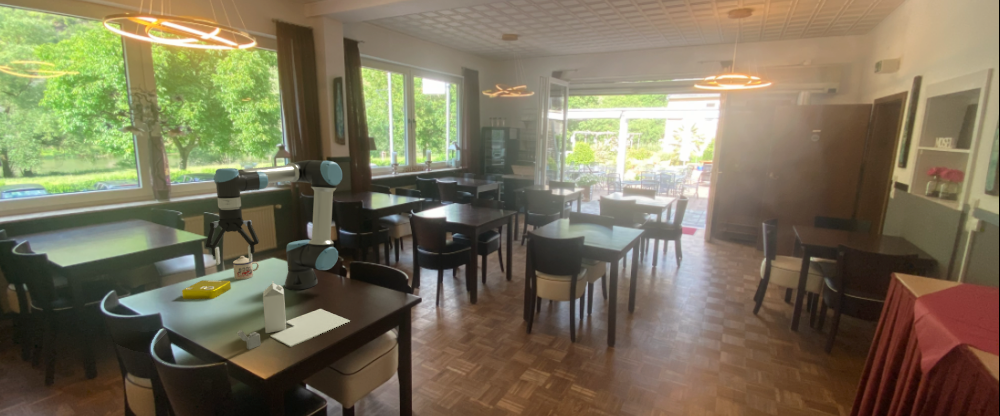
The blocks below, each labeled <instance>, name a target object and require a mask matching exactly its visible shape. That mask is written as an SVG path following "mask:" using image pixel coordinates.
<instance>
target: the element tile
mask: <svg viewBox="0 0 1000 416" xmlns="http://www.w3.org/2000/svg"><path fill="white" fill-rule="evenodd" d="M231 289H232V285H231V281H230V280H216V279H215V280H212V279H211V280H207V279H205V280H199V281H198V282H196V283H194V284H191V285H190V286H187V287H186V288H183V289H182V290H181V293H182V299H183V300H213V299H216V298H218V297H220V296H221V295H223V294H225V293H226V292H228V291H230V290H231Z"/></svg>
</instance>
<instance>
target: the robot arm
mask: <svg viewBox="0 0 1000 416" xmlns="http://www.w3.org/2000/svg"><path fill="white" fill-rule="evenodd" d="M342 180H343V171H342V169H341V167H340V165H339V164H338V163H337V162H334V161H331V160H320V159H319V160H314V159H307V160H301V161H296V162H295V161H294V162H288V163H287V164H285V165H284V164H283V165H277V166H276V165H274V166H263V167H252V168H243V169H238V168H233V167H232V168H231V167H227V168H226V167H225V168H223V167H222V168H217V169H216V170H215V173H214V176H213V183H214V184H215V186H216V187H215V188H216V196H217V197H216V198H217V206H218V208H219V209H218V219H219V220H218V221H212V222H210V223H209V228H210V229H209V233H208V236H207V241H206V243H205V248H209V249H210V248H211V254H212V257H215V265H216V266H219V265H220V264H221V256H220V254H221V253H220V247H219V246H218V245H219V243H220V242H221V239H222V238H223V236H224V235H225V233H226V232H227V233H230V232H232V233H233V232H234V233H236V232H237V233H239V235H240V236H241V237H242V238H243V239H244V240H245V242H246V243H248V246H247V254H248V258H249V262H253V254H254V253H255V252H256V251H255V245H258V244H260V240H259V238H258V236H257V233H256V230H255V229H254V226H253V222H252V221H253V220H251V219H249V220H244V219H243V213H242V212H243V211H242V208H241V207H242V201H241V193H242V192H249V191H260V190H264V189H266V188H267V186H268V185H269V184H273V183H274V184H275V183H281V182H290V183H307V184H310V188H311V189H312V190H313V208H312V209H313V210H312V211H313V212H312V230H311V232H312V234H311V239H302V240H301V239H300V240H297V241H296V240H295V241H292V242H289V243H287V244H286V263H287V273H286V277H285V281H284V288H286V289H288V290H292V291H294V290H304V289H305V290H306V289H309V288H312V287H315V286H316V285H317V284H318V277H317V275H316V273H315V271H314V269H316V270H318V271H327V270H330V269H332V268H333V267H334V266H335V265H336V263H337V261H338V258H339V251H338V250H337V248H336V247H334V244H335V243H334V241H333V240H332V237H331V236H332V220H333V219H332V218H333V197H334V196H333V195H334V192H335V190H336V189H337V186H338V185H340V183H341V181H342ZM243 225H245V227H247V229H248V232H249V233H250V236H251V237H250V236H249V235H248V233H247V232H246V231H245V230H244V228H243ZM218 226H219V227H220V228H221V230H220V232H219V234H218V236H217V237H216V239H215V240H214V241H213V239H214V235H215V232H216V228H217V227H218Z"/></svg>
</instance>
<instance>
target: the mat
mask: <svg viewBox="0 0 1000 416" xmlns="http://www.w3.org/2000/svg"><path fill="white" fill-rule="evenodd" d="M350 321H351V320H349V319H348V318H344V317H342V316H339V315H337V314H334V313H332V312H330V311H326V310H324V309H323V308H319V309H316V310H314V311H310V312H308V313H305V314H302V315H299V316H297V317H293V318H291V319H289V320H286V324H288V325H290V326H291V327H288V328H286V329H285V330H282V331H277V332H275V333H272V334H270V336H269V337H271V338H272V339H274V340H276V341H278V342H280V343H283V344H284V345H286V346H287V347H291V348H292V347H294V346H296V345H298V344H301V343H303V342H306V341H308V340H309V341H310V340H311V339H313V337H314V338H316V337H318V336H320V334H321V335H323V334H325V333H328V332H330V331H332V329H333V330H335V329H337V328H340V327H342V326H344V325H346V324H345V323H347V324H349V323H351V322H350ZM348 322H349V323H348ZM343 324H344V325H343ZM341 325H342V326H341ZM339 326H340V327H339ZM336 327H337V328H336ZM334 328H335V329H334ZM329 330H330V331H329ZM327 331H328V332H327ZM322 333H323V334H322Z"/></svg>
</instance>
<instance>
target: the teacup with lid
mask: <svg viewBox="0 0 1000 416" xmlns="http://www.w3.org/2000/svg"><path fill="white" fill-rule="evenodd" d="M253 264H256V268H253ZM232 265H233V273H234V274H233V275H234V280H247V279H250V278H253V276H254V272H255V271H257V270H258V269H259V266H260V264H259V263H258V262H257V261H252V262H249V257H245V255H241V256H239V258H237V259H236V260H234V261H233V262H232Z"/></svg>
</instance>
